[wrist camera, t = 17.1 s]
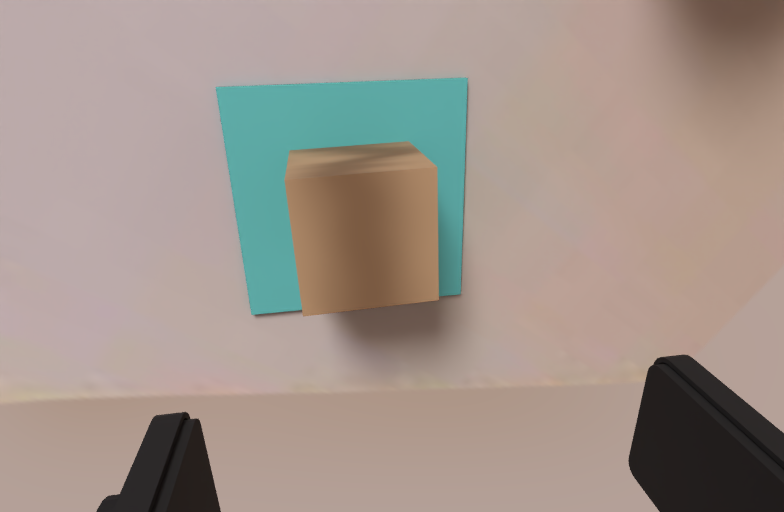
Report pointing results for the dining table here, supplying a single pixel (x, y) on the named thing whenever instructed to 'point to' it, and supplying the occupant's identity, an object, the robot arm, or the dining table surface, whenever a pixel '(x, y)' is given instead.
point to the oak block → (363, 226)
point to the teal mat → (334, 129)
